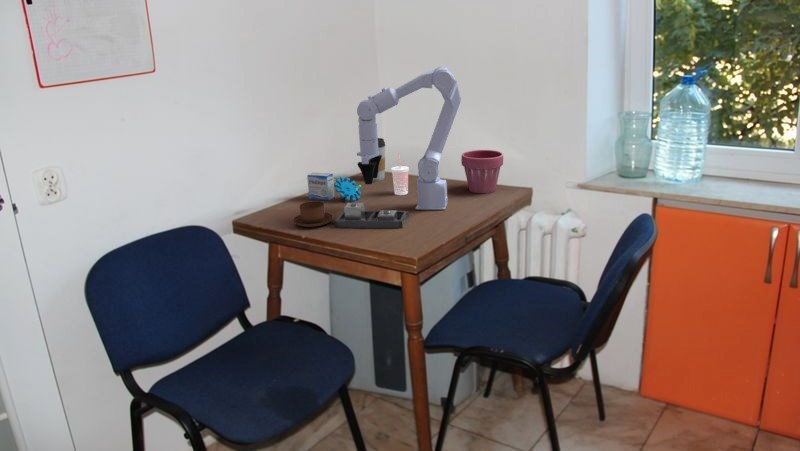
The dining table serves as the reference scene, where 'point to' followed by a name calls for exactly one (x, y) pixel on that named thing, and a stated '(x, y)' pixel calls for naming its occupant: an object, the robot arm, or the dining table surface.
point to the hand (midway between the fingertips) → (371, 181)
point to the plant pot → (482, 169)
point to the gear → (347, 189)
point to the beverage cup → (400, 179)
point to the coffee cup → (382, 162)
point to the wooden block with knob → (387, 215)
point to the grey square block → (354, 211)
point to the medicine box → (320, 186)
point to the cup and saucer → (312, 215)
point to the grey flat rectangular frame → (371, 221)
